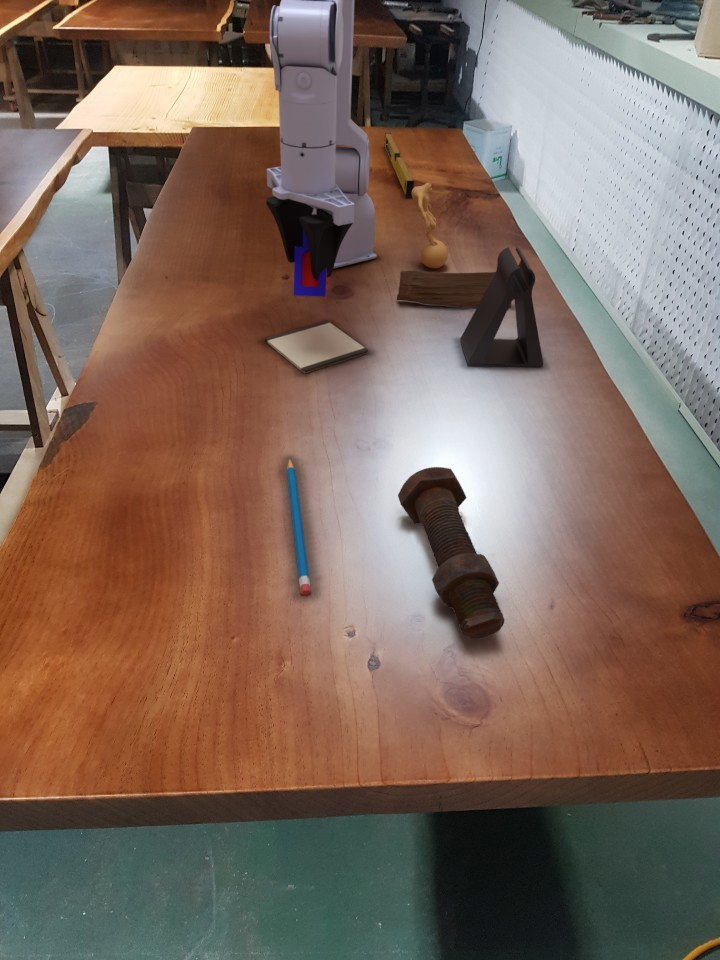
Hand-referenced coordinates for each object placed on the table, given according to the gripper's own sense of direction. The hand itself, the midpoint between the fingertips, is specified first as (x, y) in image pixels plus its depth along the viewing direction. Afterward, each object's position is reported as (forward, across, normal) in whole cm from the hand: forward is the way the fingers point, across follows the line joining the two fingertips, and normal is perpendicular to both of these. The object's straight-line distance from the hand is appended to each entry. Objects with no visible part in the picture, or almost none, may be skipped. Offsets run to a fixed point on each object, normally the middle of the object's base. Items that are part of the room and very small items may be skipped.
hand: (309, 268), depth 81 cm
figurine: (+9, -10, +26) cm, 30 cm away
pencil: (+9, +27, -18) cm, 34 cm away
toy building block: (+2, +1, 0) cm, 2 cm away
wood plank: (+9, +2, +22) cm, 24 cm away
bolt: (+9, +39, -11) cm, 42 cm away
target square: (+9, +2, 0) cm, 9 cm away
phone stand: (+9, +15, +18) cm, 25 cm away
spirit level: (+9, -50, +52) cm, 73 cm away
